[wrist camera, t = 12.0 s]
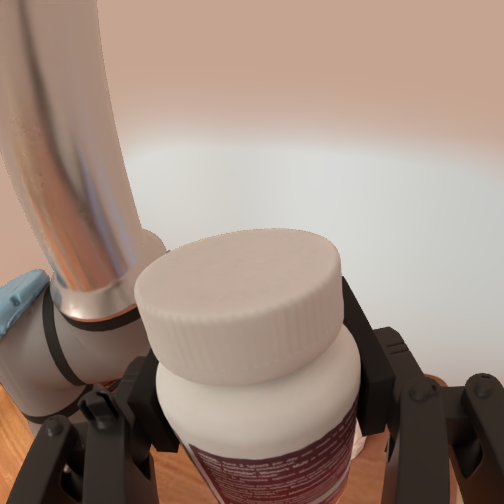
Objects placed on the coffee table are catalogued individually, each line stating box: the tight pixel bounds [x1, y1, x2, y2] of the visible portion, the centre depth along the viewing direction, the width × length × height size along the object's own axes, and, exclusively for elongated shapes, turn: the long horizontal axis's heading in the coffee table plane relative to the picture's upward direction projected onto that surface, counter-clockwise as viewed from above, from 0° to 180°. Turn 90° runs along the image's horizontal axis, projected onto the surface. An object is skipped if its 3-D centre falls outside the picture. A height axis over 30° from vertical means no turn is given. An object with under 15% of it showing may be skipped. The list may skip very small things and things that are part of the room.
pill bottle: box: [134, 228, 361, 504], centre depth 10 cm, size 6×6×11 cm
